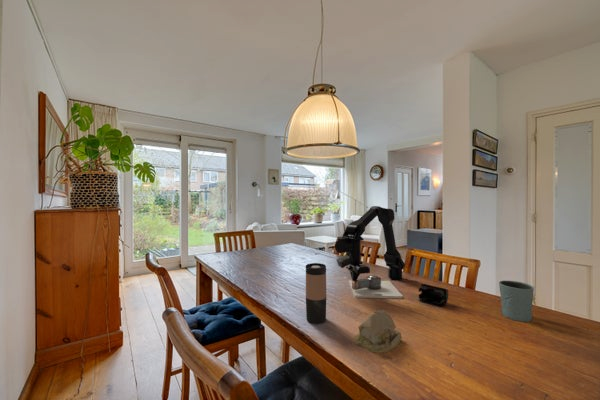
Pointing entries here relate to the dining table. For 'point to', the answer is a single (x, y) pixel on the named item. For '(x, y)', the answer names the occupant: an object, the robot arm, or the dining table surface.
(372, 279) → the lever
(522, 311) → the green cup
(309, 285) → the travel mug
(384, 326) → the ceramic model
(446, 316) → the dining table surface
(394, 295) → the plate
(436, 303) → the end cap
